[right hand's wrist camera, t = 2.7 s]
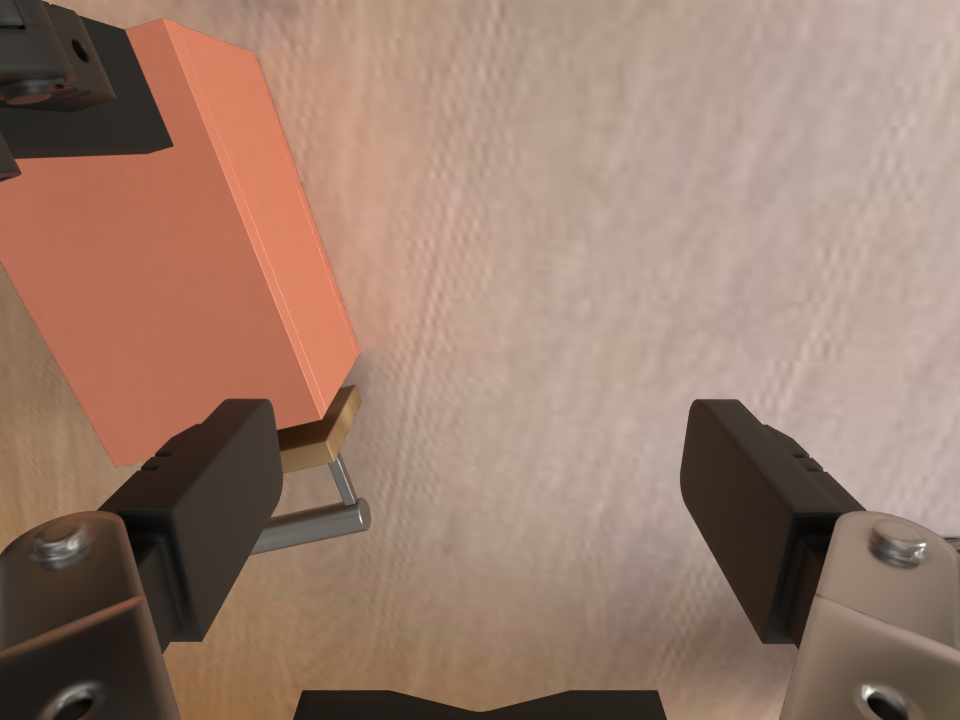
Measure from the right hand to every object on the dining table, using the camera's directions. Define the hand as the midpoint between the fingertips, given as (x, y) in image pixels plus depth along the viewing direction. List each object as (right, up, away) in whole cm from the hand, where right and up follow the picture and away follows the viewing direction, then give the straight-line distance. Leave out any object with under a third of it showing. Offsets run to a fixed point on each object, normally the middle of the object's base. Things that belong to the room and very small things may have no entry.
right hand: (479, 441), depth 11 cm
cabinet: (-14, +8, +20) cm, 26 cm away
